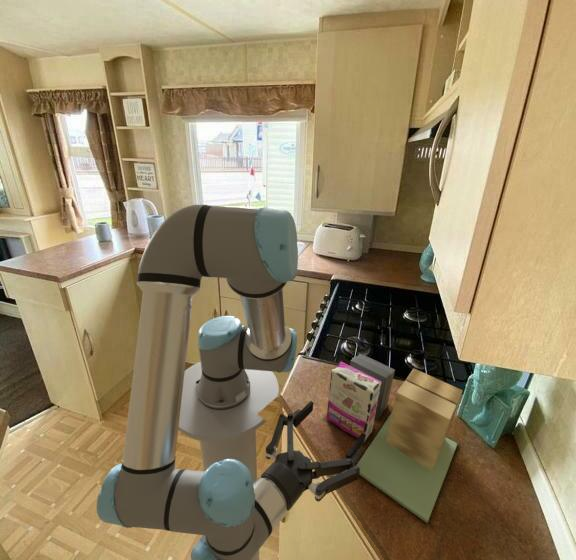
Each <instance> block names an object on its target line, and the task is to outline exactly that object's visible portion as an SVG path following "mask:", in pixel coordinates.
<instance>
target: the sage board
mask: <svg viewBox="0 0 576 560" xmlns="http://www.w3.org/2000/svg"><path fill="white" fill-rule="evenodd" d="M392 412H393V410H392ZM392 412H391V413H390V415H388V416H387V419H386V420H385V422H384V423H383V425H382V426H381V428H380V429H379V430H378V432H377V434H376V435H375V436H374V439H373V440H372V441H371V443H370V444H369V446H368V447H367V449H366V450H365V451H364V453H363V455H362V456H361V457H360V458H359V460H358V461H357V463H356V464H355V465H356V466H358V467H359V468H360V473H359V476H360V477H362V478H363V479H365V480H366V481H367V482H369V483H370V484H372V486H374V487H376V488H377V489H378V490H379V491H381V492H383V493H384V494H385V495H387V496H388V497H390V498H391V499H392V500H394V501H395V502H396V503H398V504H399V505H401V506H402V507H403V508H405V509H406V510H408V511H409V512H410V513H412V514H414V515H415V516H416V517H417V518H418V519H420V520H422V521H423V522H424V523H426V524H428V523H429V520H430V517H431V515H432V511H433V510H434V507H435V505H436V501H437V499H438V496H439V494H440V492H441V488H442V486H443V483H444V481H445V478H446V475H447V473H448V470H449V467H450V465H451V462H452V460H453V457H454V455H455V451H456V450H457V446H458V442H455V441H454V440H452V439H450V438H448V437H447V438H446V440H445V443H444V445H443V448H442V450H441V452H440V454H439V457H438V459H437V462H436V464H435V466H434V469H433V471H431V470H430V469H428V468H426V467H425V466H423V465H422V464H420V463H418V462H417V461H415V460H414V459H412V458H410V457H409V456H407V455H405V454H404V453H402V452H401V451H399V450H397V449H396V448H394V447H393V446H391V445H389V444H388V443H386V438H387V433H388V429H389V425H390V420H391V416H392Z"/></svg>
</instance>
